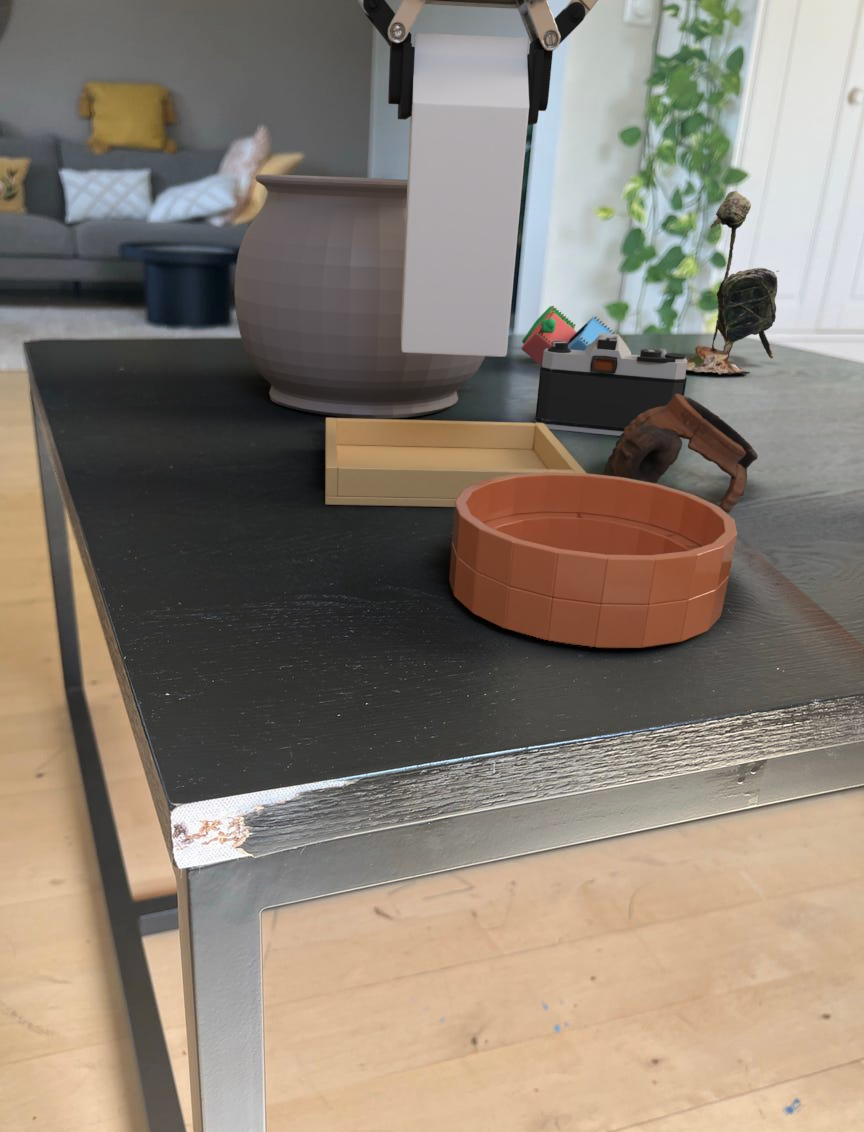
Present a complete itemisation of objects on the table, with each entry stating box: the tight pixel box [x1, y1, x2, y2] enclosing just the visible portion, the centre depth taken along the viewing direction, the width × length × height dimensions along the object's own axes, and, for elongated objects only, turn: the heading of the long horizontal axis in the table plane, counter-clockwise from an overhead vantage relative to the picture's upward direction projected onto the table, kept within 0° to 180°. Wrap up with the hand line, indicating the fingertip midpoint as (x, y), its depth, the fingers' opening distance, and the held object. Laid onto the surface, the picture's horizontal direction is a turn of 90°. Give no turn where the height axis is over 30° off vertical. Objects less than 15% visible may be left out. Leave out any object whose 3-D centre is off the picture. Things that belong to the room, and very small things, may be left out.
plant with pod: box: [685, 190, 779, 375], centre depth 115 cm, size 8×11×20 cm
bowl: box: [448, 472, 738, 649], centre depth 52 cm, size 14×14×5 cm
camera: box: [534, 333, 688, 437], centre depth 89 cm, size 13×8×9 cm, turn 77°
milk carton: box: [401, 32, 530, 358], centre depth 65 cm, size 7×7×19 cm
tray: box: [324, 417, 587, 508], centre depth 73 cm, size 18×15×3 cm
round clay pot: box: [233, 173, 486, 419], centre depth 93 cm, size 25×25×20 cm
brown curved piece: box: [601, 394, 759, 514], centre depth 69 cm, size 12×10×8 cm
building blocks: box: [521, 304, 616, 366], centre depth 117 cm, size 8×8×12 cm
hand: (466, 119), depth 63 cm, fingers closed on milk carton, 7 cm apart
